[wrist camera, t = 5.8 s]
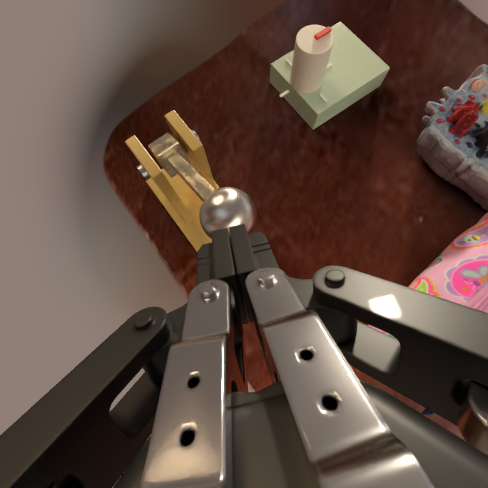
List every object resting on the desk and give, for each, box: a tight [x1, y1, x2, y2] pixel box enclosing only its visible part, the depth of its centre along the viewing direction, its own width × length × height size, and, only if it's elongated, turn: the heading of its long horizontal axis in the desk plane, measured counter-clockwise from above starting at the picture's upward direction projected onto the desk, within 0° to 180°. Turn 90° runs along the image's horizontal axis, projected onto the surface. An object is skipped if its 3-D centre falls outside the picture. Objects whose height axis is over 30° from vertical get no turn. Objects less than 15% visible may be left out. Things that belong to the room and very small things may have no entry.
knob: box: [290, 25, 334, 93], centre depth 32 cm, size 4×4×6 cm
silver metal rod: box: [148, 133, 257, 244], centre depth 20 cm, size 14×4×4 cm, turn 37°
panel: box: [270, 22, 390, 130], centre depth 37 cm, size 14×10×3 cm
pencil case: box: [368, 212, 488, 415], centre depth 26 cm, size 21×9×9 cm, turn 129°
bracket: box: [125, 110, 219, 252], centre depth 29 cm, size 12×7×13 cm, turn 37°
